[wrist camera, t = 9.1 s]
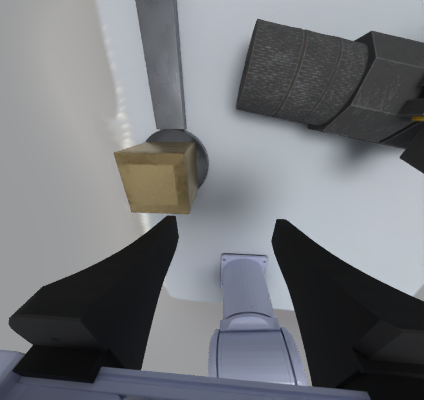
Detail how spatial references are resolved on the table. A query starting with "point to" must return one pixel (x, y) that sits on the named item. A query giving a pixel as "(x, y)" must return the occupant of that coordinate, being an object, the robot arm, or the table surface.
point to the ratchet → (167, 75)
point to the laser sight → (339, 85)
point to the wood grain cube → (159, 176)
